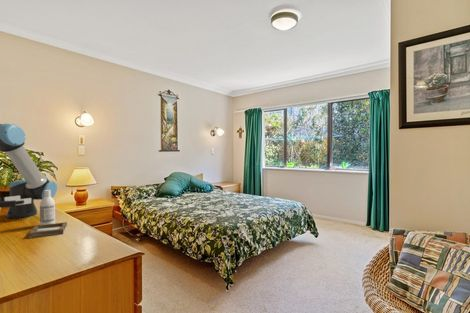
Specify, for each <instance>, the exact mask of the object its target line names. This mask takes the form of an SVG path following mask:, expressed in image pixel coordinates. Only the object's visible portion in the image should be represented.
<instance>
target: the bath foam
mask: <svg viewBox="0 0 470 313" xmlns="http://www.w3.org/2000/svg"><path fill="white" fill-rule="evenodd" d="M55 223H56V203H55V199H54V197H53V198H52V197H51V190H45V191H44V198H43V199H42V200H40V202H39V225H46V224H55Z"/></svg>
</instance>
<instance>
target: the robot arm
mask: <svg viewBox="0 0 470 313" xmlns="http://www.w3.org/2000/svg"><path fill="white" fill-rule="evenodd" d="M25 141H26V132H25V131H24V130H23V128H22V127H20V126H18V125H16V124H13V123H12V124H11V123H0V152H1V153H5V154H6V156H8V158H9V159H10V161H11V163H12V164H13V165H14V167H15V169H17V170H16V171H18V172H19V174H20V176H21V177H22V178H23V179H21V180H20V179H19V180H15V181H10V183H9V196H5V197H4V196H3V195H2V196H1V195H0V208H8V210H7V213H6V218H7V219H20V218H28V217H32V216H35V215H37V214H38V209H37V207H36V205H35V201H36V200H37V201H38V200H39V201H42V199H43V198H44V191H45V190H51V197H52V198H53V199H54V197H55V195H56V194H57V192H58V185H57V183H56V181H50V180H49V179H48V177H47V176H46V175H43V173H41V171H40V169H39V168H38V166H37V165H36V163H35V162H34V160H33V159H32V156H30V154H29V153H28V151H27V149H26V148H25V144H26V143H25ZM34 200H35V201H34Z"/></svg>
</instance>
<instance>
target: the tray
mask: <svg viewBox="0 0 470 313" xmlns="http://www.w3.org/2000/svg"><path fill="white" fill-rule="evenodd" d="M67 227H68V222H66V221H65V222H58V223H56V222H55V224H46V225H40V224H39V225H35V226H34V227H33V228H32V229H31V230H30V231H29V232H28V239H34V238H43V237H50V236H57V235H63V234H65V232H66V229H67Z"/></svg>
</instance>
